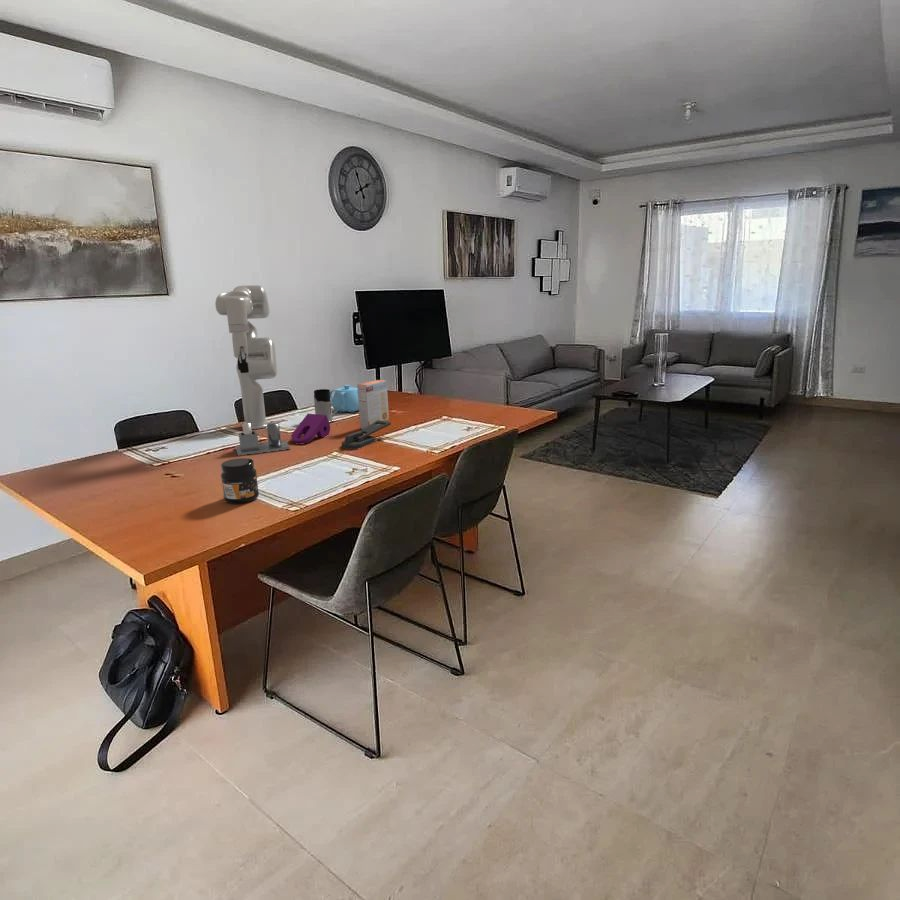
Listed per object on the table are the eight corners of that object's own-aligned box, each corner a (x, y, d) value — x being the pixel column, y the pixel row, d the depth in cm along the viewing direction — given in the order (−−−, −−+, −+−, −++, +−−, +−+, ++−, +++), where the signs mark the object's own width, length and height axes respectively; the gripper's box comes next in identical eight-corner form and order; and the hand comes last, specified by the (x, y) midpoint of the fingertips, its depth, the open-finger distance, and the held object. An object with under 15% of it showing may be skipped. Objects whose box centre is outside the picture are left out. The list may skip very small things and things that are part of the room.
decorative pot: (338, 415, 301) (336, 389, 297) (328, 409, 315) (326, 384, 311) (368, 411, 308) (367, 385, 305) (357, 406, 322) (356, 381, 318)
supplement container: (225, 507, 180) (220, 469, 177) (223, 496, 189) (218, 460, 186) (261, 501, 184) (257, 464, 181) (257, 491, 193) (253, 455, 190)
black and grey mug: (316, 419, 293) (313, 389, 289) (345, 418, 294) (343, 388, 290) (314, 423, 284) (311, 392, 280) (344, 422, 286) (342, 391, 282)
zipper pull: (393, 421, 256) (354, 434, 236) (393, 436, 258) (355, 450, 238) (377, 419, 261) (337, 431, 241) (377, 434, 263) (338, 447, 243)
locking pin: (244, 447, 241) (241, 423, 238) (253, 446, 242) (250, 422, 240) (245, 449, 238) (242, 424, 235) (253, 448, 239) (251, 423, 237)
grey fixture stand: (235, 448, 244) (232, 424, 241) (285, 442, 251) (283, 419, 248) (238, 456, 233) (235, 431, 230) (290, 449, 241) (287, 425, 238)
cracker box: (380, 423, 283) (377, 379, 277) (389, 424, 280) (387, 380, 274) (359, 429, 272) (356, 383, 267) (369, 430, 269) (366, 384, 263)
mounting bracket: (312, 457, 251) (332, 430, 264) (306, 441, 246) (326, 415, 258) (293, 455, 255) (313, 428, 267) (287, 440, 249) (307, 413, 262)
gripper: (227, 327, 246) (232, 369, 250) (230, 330, 230) (235, 374, 235) (246, 326, 248) (250, 367, 253) (250, 329, 233) (255, 373, 238)
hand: (243, 371), depth 244 cm, fingers open, 9 cm apart
